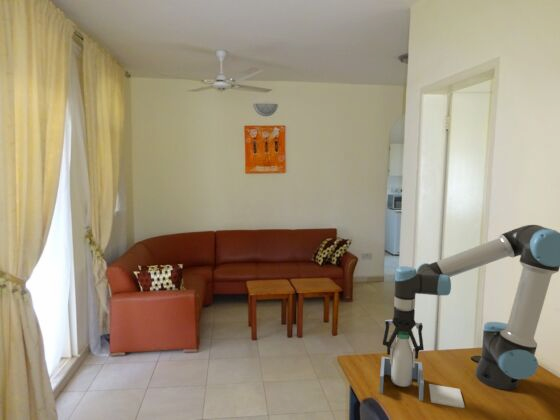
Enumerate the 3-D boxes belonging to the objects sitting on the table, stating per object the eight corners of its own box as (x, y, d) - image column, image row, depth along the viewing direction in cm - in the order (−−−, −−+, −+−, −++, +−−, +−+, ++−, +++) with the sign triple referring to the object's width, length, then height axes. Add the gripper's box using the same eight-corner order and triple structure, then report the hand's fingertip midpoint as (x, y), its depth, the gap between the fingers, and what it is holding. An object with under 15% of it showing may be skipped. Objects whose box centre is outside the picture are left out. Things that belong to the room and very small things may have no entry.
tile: (459, 390, 144) (459, 388, 144) (464, 408, 134) (464, 406, 134) (428, 385, 148) (428, 383, 147) (431, 402, 137) (431, 400, 137)
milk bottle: (413, 388, 143) (415, 337, 140) (391, 386, 144) (393, 336, 142) (410, 377, 150) (412, 329, 148) (390, 375, 152) (391, 327, 149)
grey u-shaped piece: (420, 378, 152) (421, 362, 152) (422, 401, 138) (423, 383, 137) (381, 372, 157) (381, 356, 156) (379, 393, 142) (380, 375, 142)
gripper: (432, 307, 144) (429, 363, 147) (377, 301, 150) (375, 355, 153) (434, 314, 137) (431, 373, 140) (376, 307, 143) (374, 364, 146)
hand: (402, 364), depth 146 cm, fingers closed on milk bottle, 8 cm apart
